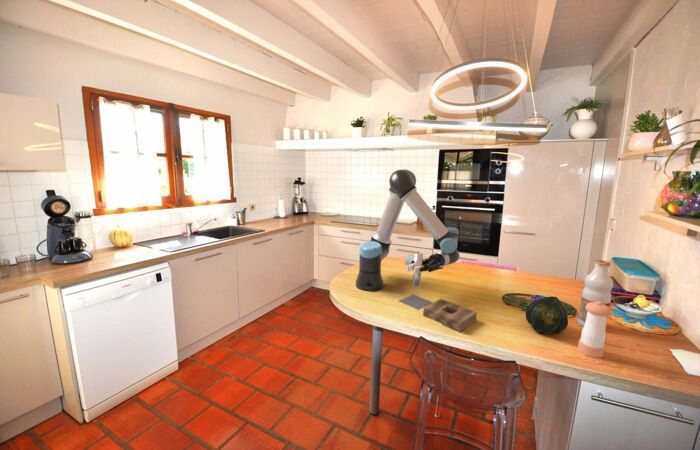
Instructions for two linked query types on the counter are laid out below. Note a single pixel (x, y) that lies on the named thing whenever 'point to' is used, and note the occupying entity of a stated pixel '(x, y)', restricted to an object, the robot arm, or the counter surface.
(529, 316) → the squash
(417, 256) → the metal pin
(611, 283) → the fruit juice
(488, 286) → the counter surface
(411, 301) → the rubber mat
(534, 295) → the pudding
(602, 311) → the pepper shaker
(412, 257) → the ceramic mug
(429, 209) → the robot arm
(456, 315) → the socket block
